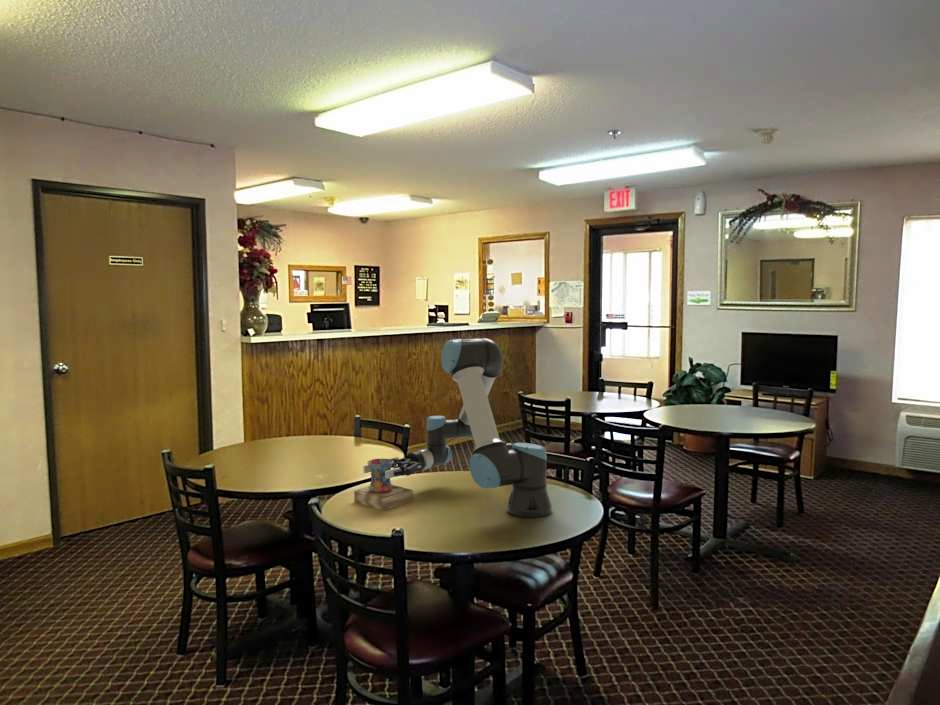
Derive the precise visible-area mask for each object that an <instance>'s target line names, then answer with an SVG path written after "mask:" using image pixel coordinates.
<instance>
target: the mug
mask: <svg viewBox="0 0 940 705" xmlns="http://www.w3.org/2000/svg"><path fill="white" fill-rule="evenodd" d="M391 459H392V458H382V457H381V458H373V459H369V460H368V461H367V465H369V468H370V471H371V472H370V478H371V480H370V485H369V486H370V487H369V486H368V487H369V490H371V491H373V492H387V491H390V490H391V489H392V488H393V486H392V485H393V484H392V480H391V478H389V479H385V471H388V470H391V469H395V467H396V464H395V462H393V460H391ZM393 463H394V468H391V467H392V464H393Z"/></svg>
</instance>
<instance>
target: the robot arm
mask: <svg viewBox="0 0 940 705" xmlns="http://www.w3.org/2000/svg"><path fill="white" fill-rule="evenodd" d="M440 357H441V367H442V370H443V371H444V372H445V373H447V374H450V375H451V379H452V381H454V382H456V383H457V384H458V385H457V386H458V388H459V392H460V395H461V399H462V403H463V405H462V407H461V410H460V413H459V415H458V418H456V419H446V416H444V415H430V416H428V417H427V419H426V427H425V428H426V448H423V449H419V450H416V451H412V452H409V453H407V454H406V456H405V457H401V458H399V457H397V456H396V457H392V458H390V459H391V460H393V462H395V464H396V467H395V469H393V468H394V463H393V464H392V467H391V470H388V471H385V479H389V478H390V479H392V478H397V477H400V476H406V477H407V476H411V475H412V474H414V473H417V472H419V471H422V470H423V471H426V470H427V469H430V468H434V467H438V466H443V465H445V464H447V463H449V462H450V461H451V460H452V457H453V453H452V450H451V449H452V448H451V447H450V446H449V445H447V440H451V439H452V440H453V439H460V438H472V439H473V442H474V448H473V450H472V455H471V456H470V458H469V463H468V464H469V472H470V475H471V478H472V480H473V481H474V483H475V484H477V485H478V486H479V488H482V489H485V490H486V489H497V488H499V487H506V486H511V485H512V488H511V492H510V496H509V498H508V501H507V512H508V513H509V514H511V515H513V516H514V517H515V516H516V517H521V518H533V519H534V518H542V517H546V516H548V515H551V513H552V512H553V511H552V510H553V509H552V503H551V499H550V496H549V493H548V490H547V461H548V459H547V458H548V457H547V450H546V448H545V447H544V446H542V445H539V444H534V443H528V442H514V443H512V446H511V449H508V447H507V444H506V442H505V441H504V440H502V439H501V438H500V436H499V432H498V429H497V424H496V421H495V419H494V415H493V411H492V408H491V405H490V401H489V397H488V396H489V393H490V391H491V389H492V387H493V384H494V382H495V379H496V378H497V379H498V377H499V376H500V374H501V372H502V370H503V366H504V355H503V353H502V350H501V348H500V346H499V345H498V343H496V342H495V341H493V339H489V338H487V337H480V338H456V339H450V340H447V341H446V343H445V344H444V345H443V348H442V351H441V356H440ZM368 473H371V471H370V468H369V465H368V464H365V465H363V474H368Z"/></svg>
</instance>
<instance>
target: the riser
mask: <svg viewBox="0 0 940 705" xmlns="http://www.w3.org/2000/svg"><path fill="white" fill-rule="evenodd" d="M392 486H393V488H392V489H391V490H390V491H387V492H373V491H371V490H369V487H370V485H369V486H366V487H363V488H359V489H355V490H353V491H354V492H353V493H354V494H353V495H354V496H353V498H354V499H353V500H354V502H355V503H358V504H360V505H361V504H362V505H364V506H369V507H370V508H374V509H378V510H381V511H387V510H389V509H392V508H393V509H394V508H395V507H399V506H401V505H404V504H408V503H411V502H414V490H413V489H410V488H406V487H402V486H398V485H395V484H392Z"/></svg>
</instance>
